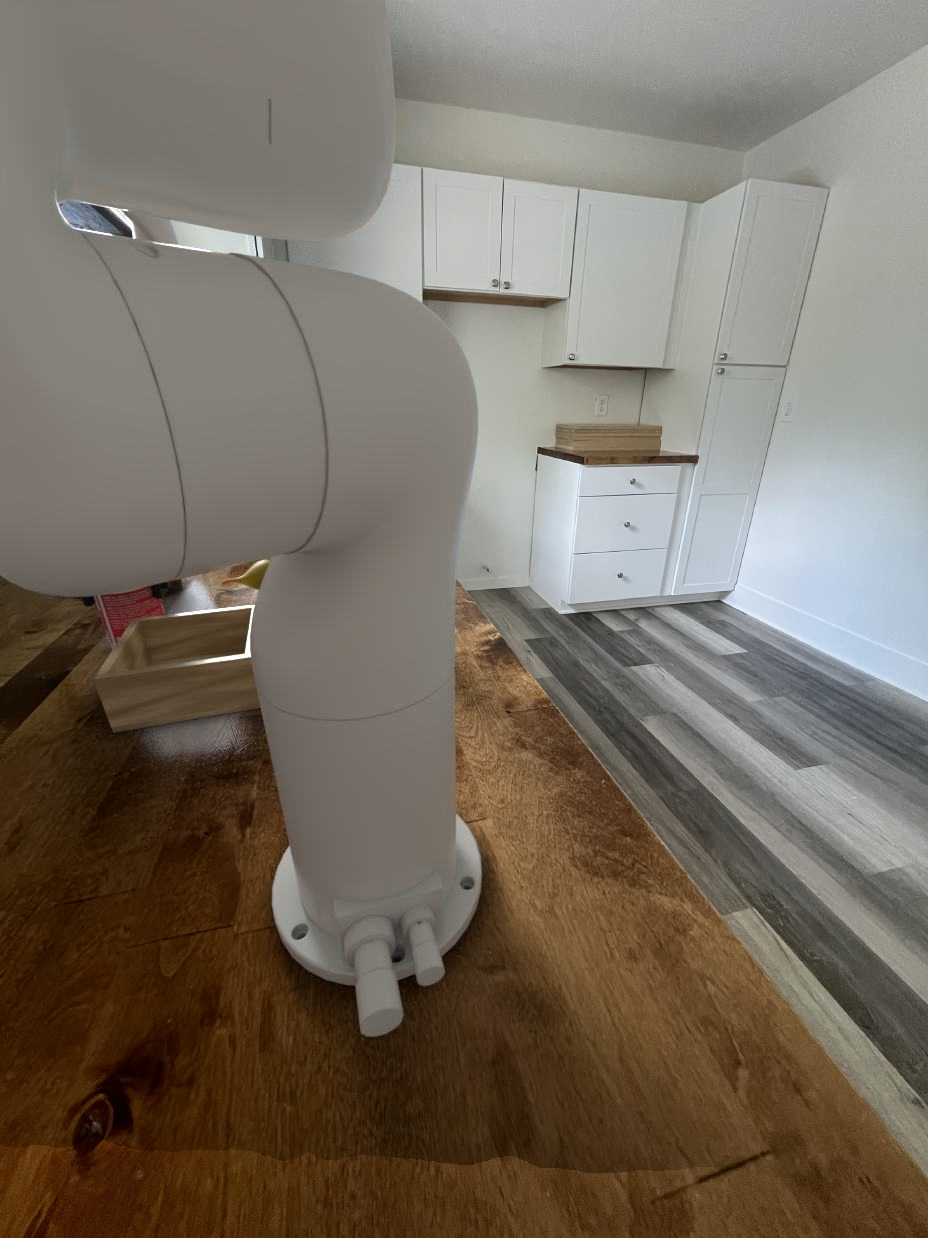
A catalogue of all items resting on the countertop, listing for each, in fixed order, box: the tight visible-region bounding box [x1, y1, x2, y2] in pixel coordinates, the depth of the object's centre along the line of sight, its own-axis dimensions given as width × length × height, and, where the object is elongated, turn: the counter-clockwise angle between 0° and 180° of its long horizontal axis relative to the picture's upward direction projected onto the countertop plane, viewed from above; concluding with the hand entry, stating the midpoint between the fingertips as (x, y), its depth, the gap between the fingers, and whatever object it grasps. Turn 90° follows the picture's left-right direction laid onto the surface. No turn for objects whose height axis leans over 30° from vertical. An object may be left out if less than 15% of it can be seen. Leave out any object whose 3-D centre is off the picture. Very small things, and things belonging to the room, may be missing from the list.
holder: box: [92, 604, 261, 733], centre depth 50 cm, size 13×13×6 cm
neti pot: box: [221, 559, 271, 591], centre depth 70 cm, size 4×15×6 cm, turn 131°
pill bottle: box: [94, 585, 166, 650], centre depth 57 cm, size 6×6×11 cm
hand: (128, 596), depth 57 cm, fingers closed on pill bottle, 6 cm apart
